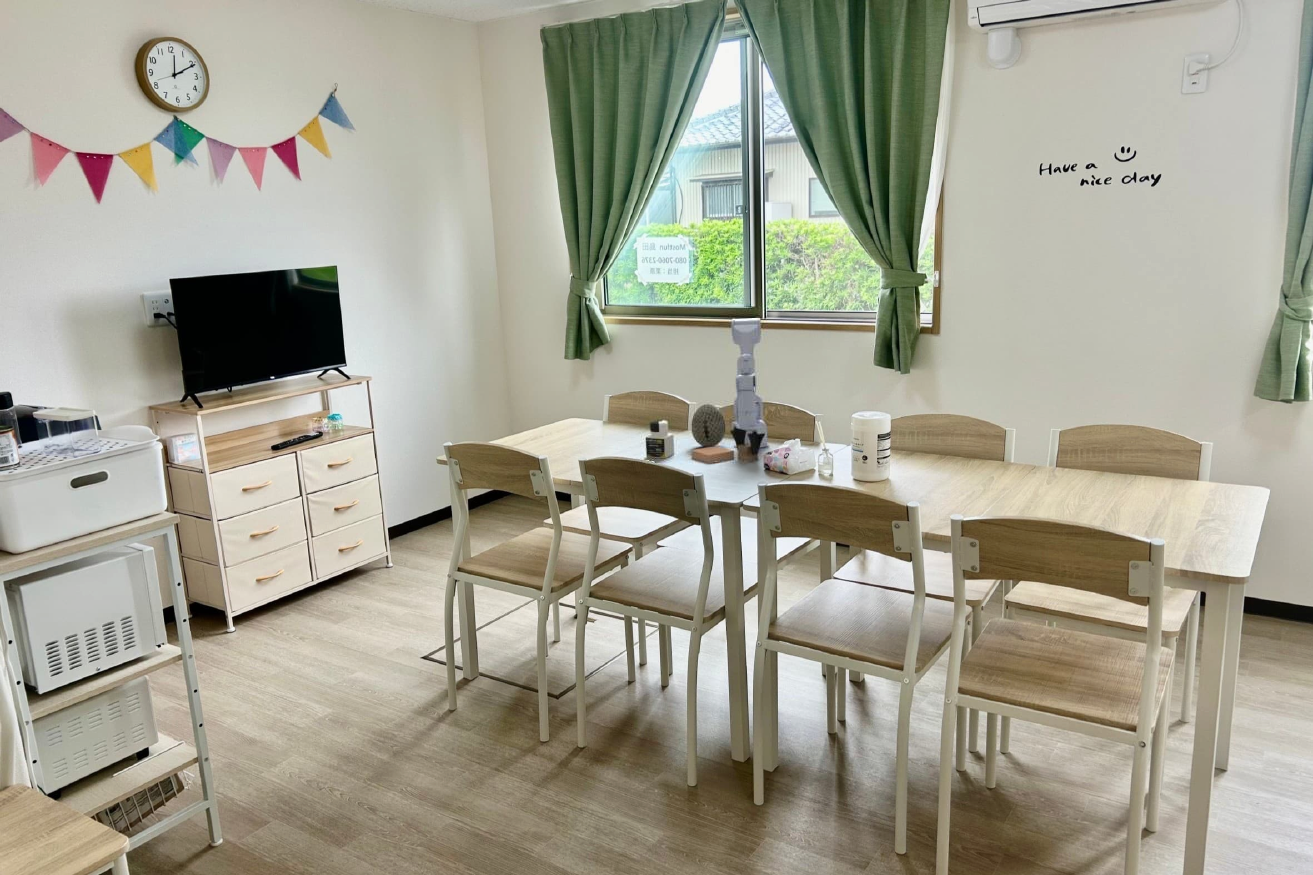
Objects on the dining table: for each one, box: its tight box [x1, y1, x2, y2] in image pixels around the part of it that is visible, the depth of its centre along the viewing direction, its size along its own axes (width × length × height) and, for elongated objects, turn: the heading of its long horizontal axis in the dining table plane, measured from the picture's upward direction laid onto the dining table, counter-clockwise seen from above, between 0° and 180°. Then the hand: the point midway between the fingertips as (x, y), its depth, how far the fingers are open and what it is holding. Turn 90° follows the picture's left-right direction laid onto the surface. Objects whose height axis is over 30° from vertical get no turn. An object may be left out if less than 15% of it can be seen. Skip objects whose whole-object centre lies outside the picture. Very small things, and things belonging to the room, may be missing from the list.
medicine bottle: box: [645, 419, 675, 460], centre depth 322 cm, size 7×7×12 cm
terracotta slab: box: [691, 445, 735, 464], centre depth 316 cm, size 10×10×3 cm
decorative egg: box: [690, 403, 726, 448], centre depth 332 cm, size 12×12×15 cm
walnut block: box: [737, 443, 759, 463], centre depth 311 cm, size 5×5×5 cm
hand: (747, 452), depth 311 cm, fingers open, 7 cm apart
